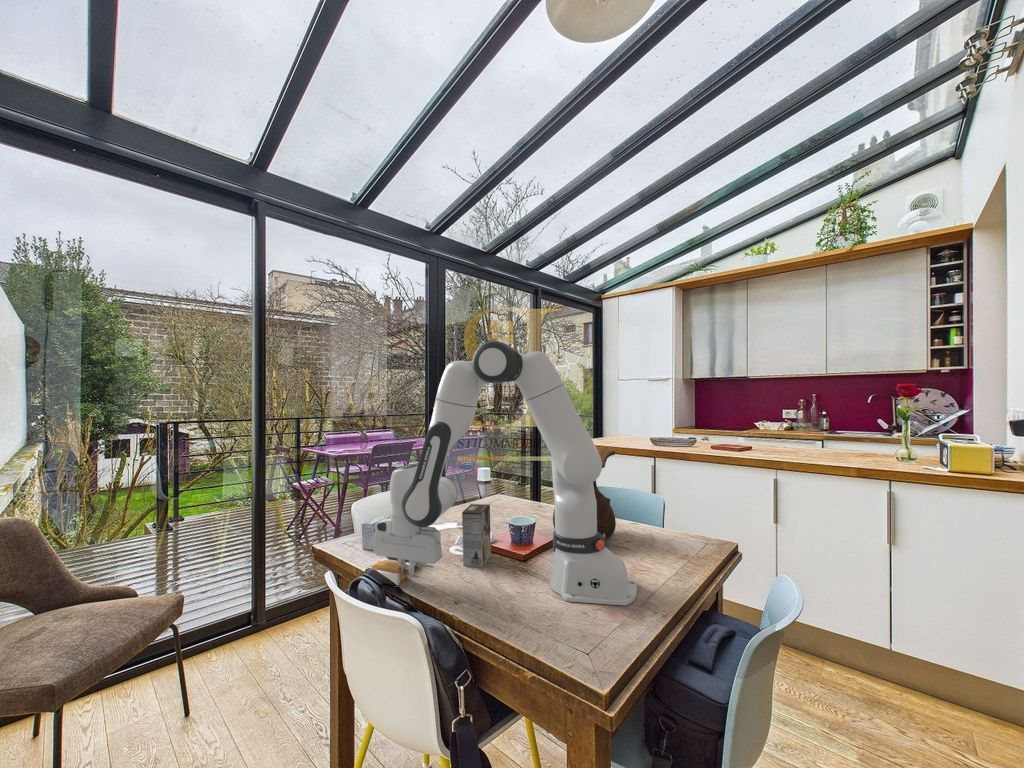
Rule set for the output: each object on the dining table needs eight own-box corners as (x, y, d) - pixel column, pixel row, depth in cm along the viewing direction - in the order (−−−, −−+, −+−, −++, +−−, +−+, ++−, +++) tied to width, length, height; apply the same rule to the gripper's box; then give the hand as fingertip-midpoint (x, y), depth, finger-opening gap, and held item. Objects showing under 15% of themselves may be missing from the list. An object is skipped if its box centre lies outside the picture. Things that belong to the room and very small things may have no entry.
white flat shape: (397, 535, 159) (396, 525, 159) (447, 518, 177) (447, 510, 177) (463, 559, 136) (463, 548, 136) (514, 537, 154) (513, 528, 154)
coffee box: (471, 554, 139) (470, 503, 139) (491, 555, 137) (490, 504, 137) (462, 566, 130) (461, 511, 130) (483, 567, 128) (482, 512, 128)
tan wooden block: (406, 576, 123) (406, 562, 123) (398, 582, 119) (397, 568, 119) (385, 573, 126) (384, 559, 125) (376, 579, 122) (376, 565, 122)
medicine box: (373, 550, 143) (372, 524, 143) (361, 549, 144) (361, 522, 144) (387, 542, 150) (387, 516, 150) (376, 541, 152) (376, 515, 152)
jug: (619, 553, 137) (618, 457, 137) (550, 550, 141) (549, 456, 141) (615, 530, 159) (614, 447, 159) (555, 528, 162) (554, 446, 162)
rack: (427, 564, 131) (427, 553, 131) (397, 586, 117) (397, 574, 117) (398, 559, 135) (398, 549, 135) (365, 580, 121) (365, 568, 121)
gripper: (446, 524, 120) (446, 575, 120) (384, 517, 127) (384, 564, 127) (433, 531, 114) (434, 585, 114) (369, 523, 121) (370, 573, 121)
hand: (407, 574), depth 121 cm, fingers closed
